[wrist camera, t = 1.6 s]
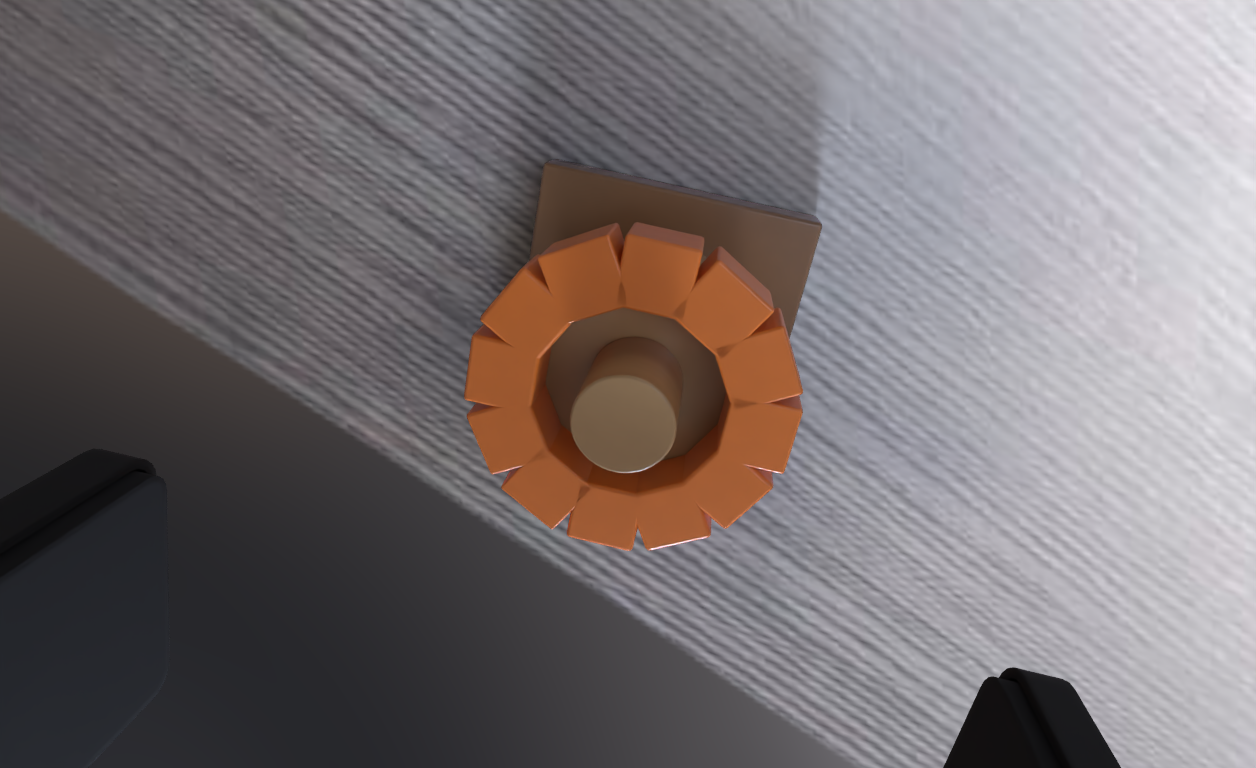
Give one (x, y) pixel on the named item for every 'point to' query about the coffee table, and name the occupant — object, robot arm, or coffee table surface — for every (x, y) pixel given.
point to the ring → (660, 285)
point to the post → (650, 344)
